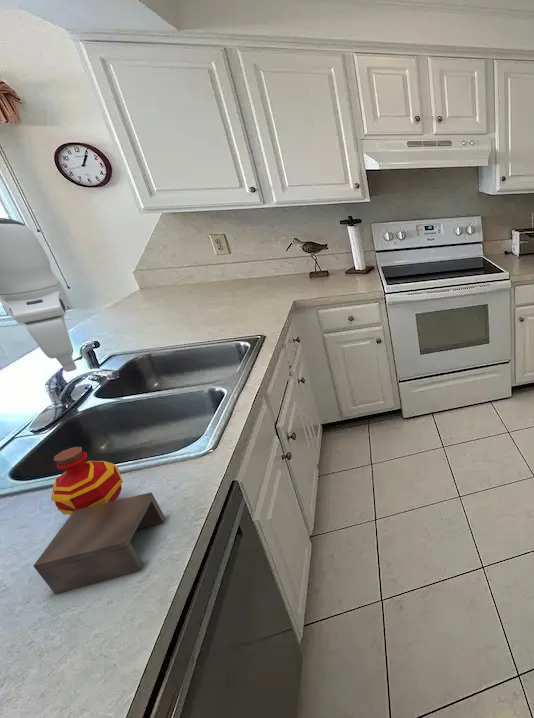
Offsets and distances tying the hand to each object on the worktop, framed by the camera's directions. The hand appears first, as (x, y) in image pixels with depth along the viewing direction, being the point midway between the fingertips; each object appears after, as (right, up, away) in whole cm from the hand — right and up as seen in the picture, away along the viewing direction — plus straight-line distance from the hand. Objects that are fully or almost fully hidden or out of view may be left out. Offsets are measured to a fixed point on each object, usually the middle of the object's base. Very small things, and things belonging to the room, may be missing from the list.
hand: (69, 362), depth 87 cm
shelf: (+21, -34, -12) cm, 42 cm away
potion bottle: (+10, -30, -3) cm, 32 cm away
